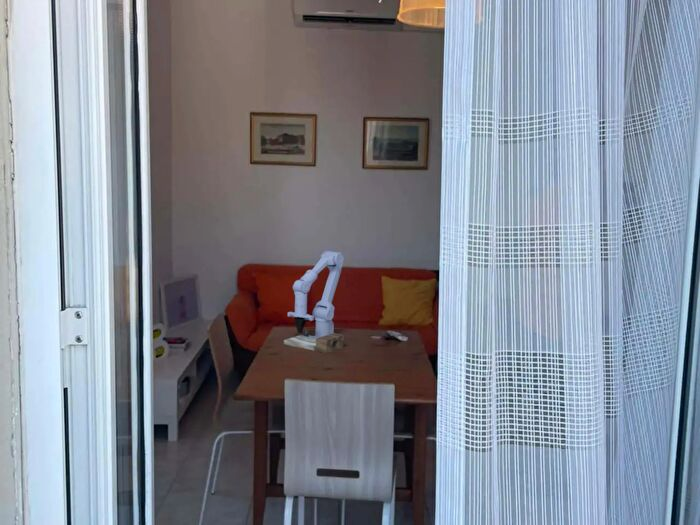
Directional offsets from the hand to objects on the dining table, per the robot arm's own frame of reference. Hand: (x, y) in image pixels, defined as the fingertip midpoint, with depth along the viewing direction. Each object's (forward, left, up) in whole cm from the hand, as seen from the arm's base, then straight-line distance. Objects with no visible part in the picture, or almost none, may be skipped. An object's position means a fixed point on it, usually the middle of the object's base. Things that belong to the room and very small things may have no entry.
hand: (300, 332), depth 292 cm
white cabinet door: (0, +8, -5) cm, 9 cm away
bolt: (0, +8, -3) cm, 8 cm away
